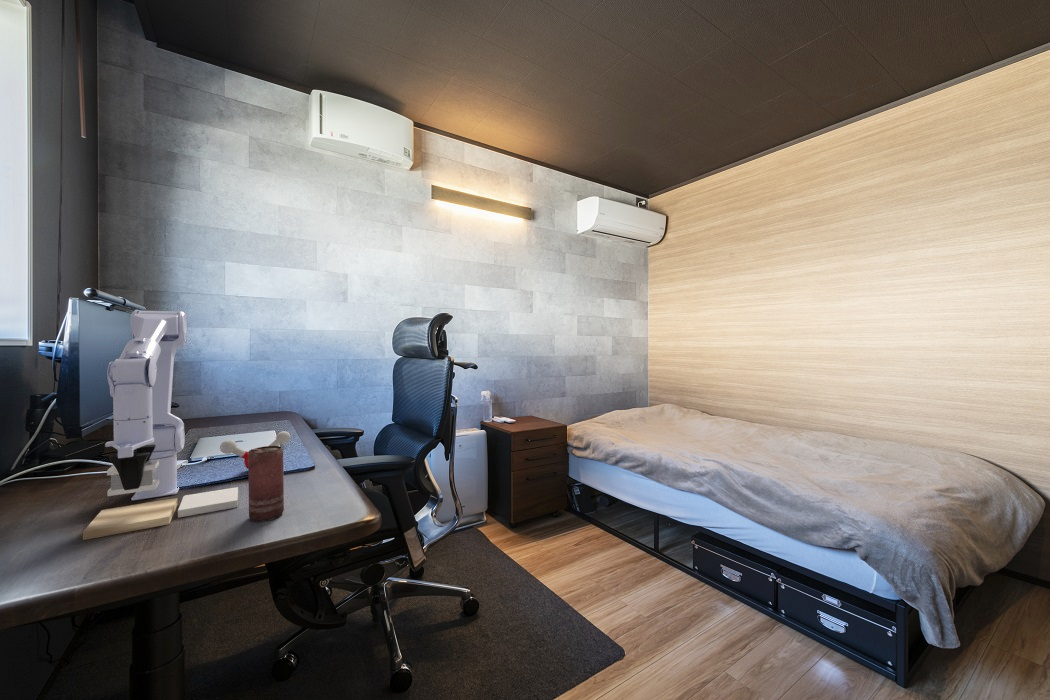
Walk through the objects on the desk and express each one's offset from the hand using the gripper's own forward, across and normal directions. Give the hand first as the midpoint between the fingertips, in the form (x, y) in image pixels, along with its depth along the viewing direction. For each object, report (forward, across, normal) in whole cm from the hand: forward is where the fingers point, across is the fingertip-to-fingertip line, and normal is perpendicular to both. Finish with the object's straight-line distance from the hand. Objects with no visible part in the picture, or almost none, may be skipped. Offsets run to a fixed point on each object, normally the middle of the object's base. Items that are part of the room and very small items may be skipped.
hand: (134, 485), depth 84 cm
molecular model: (+7, -26, +21) cm, 34 cm away
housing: (+1, 0, 0) cm, 1 cm away
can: (+7, +12, +22) cm, 26 cm away
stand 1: (+7, 0, 0) cm, 7 cm away
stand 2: (+7, -2, +12) cm, 14 cm away
